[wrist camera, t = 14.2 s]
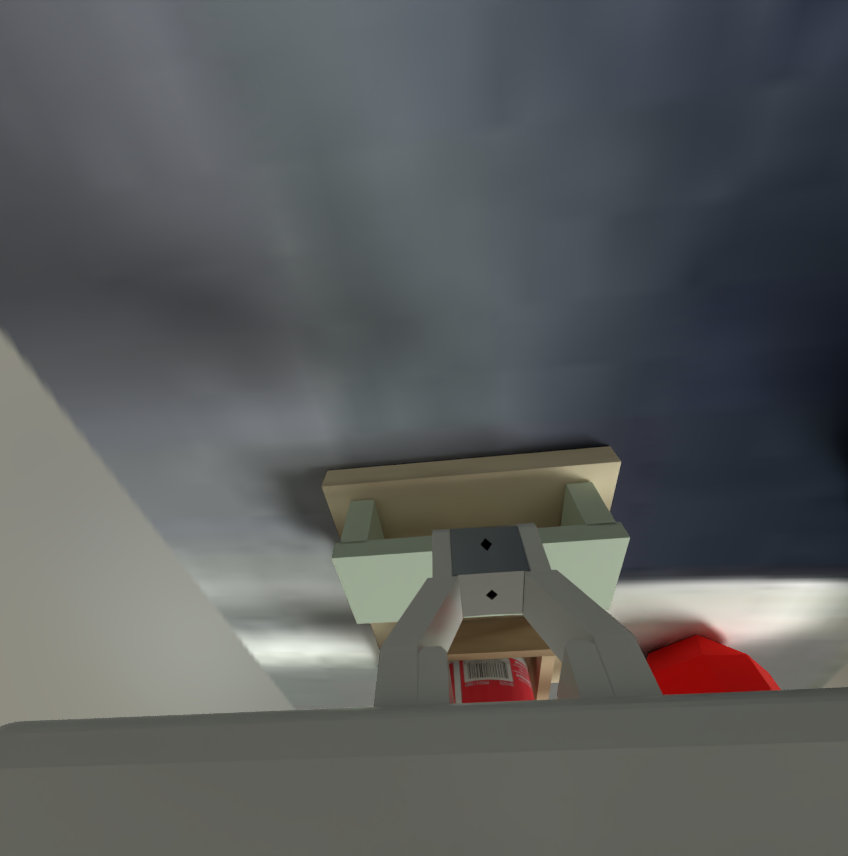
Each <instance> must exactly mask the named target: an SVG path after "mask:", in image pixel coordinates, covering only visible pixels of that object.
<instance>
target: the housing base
mask: <svg viewBox="0 0 848 856" xmlns="http://www.w3.org/2000/svg"><path fill="white" fill-rule="evenodd" d="M620 465H621V461H620V459H619V458H618V457H617V455H616V454H615V452H614V451H613V450H612V448H611V447H610V446H607V447H595V448H584V449H572V450H561V451H549V452H537V453H526V454H514V455H503V456H491V457H480V458H468V459H457V460H445V461H434V462H422V463H410V464H399V465H387V466H376V467H364V468H353V469H341V470H330V471H327V473H326V476H325V479H324V481H323V484H322V489H323V492H324V495H325V498H326V500H327V503H328V506H329V509H330V512H331V515H332V517H333V520H334V523H335V526H336V529H337V531H338V534H339V537H340V540H341V536H342V532H343V528H344V524H345V520H346V517H347V513H348V509H349V505H350V501H360V500H373V499H374V500H375V504H376V508H377V512H378V516H379V519H380V523H381V527H382V531H383V535H384V539H394V538H408V537H421V536H432V532H433V530H441V529H449V530H450V529H456V528H477V527H486V526H498V525H509V524H523V523H534V524H535V525H536V527H537V528H545V527H558V526H561V518H562V511H563V503H564V496H565V488H566V484H571V483H584V482H592V483H593V484H594V486H595V488H596V489H597V491H598V493H599V495H600V496H601V498H602V500H603V501H604V503H605V505H606V507H607V508H608V510H609V512H610V508H611V504H612V499H613V495H614V491H615V486H616V482H617V478H618V473H619V469H620ZM370 624H371V627H372V630H373V632H374V635H375V638H376V641H377V644H378V647H379V649H380V647H381V646H382V644H383V643H384V641H385V640H386V638H387V637H388V636H389V634H390V633H391V631H392V630H393V628H394V627H395V625H396V624H397V622H382V623H370ZM447 656H448V661H459V660H479V659H499V658H519V657H525V660H526V664H527V668H528V673H529V677H530V682H531V686H532V691H533V695H534V700H548V697H549V691H550V685H551V683H558V682H559V679H560V673H561V667H562V662H561V661H560V660H559V659H558V657H557V656H556V655H555V654H554V653H553V651H552V650H551V649H550V648H549V646H548V645H547V644H546V643H545V642H544V640H543V639H542V638H541V637H540V636H539V634H538V633H537V632H536V631H535V629H534V628H533V627H532V626H531V625H530V623H529V622H528V621H527V620H526V618H525V617H524V616H523V614H521V615H504V616H486V617H469V618H463V620H462V622H461V624H460V626H459V628H458V631H457V633H456V635H455V637H454V639H453V641H452V644H451V646H450V648H449V650H448V652H447Z"/></svg>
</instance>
